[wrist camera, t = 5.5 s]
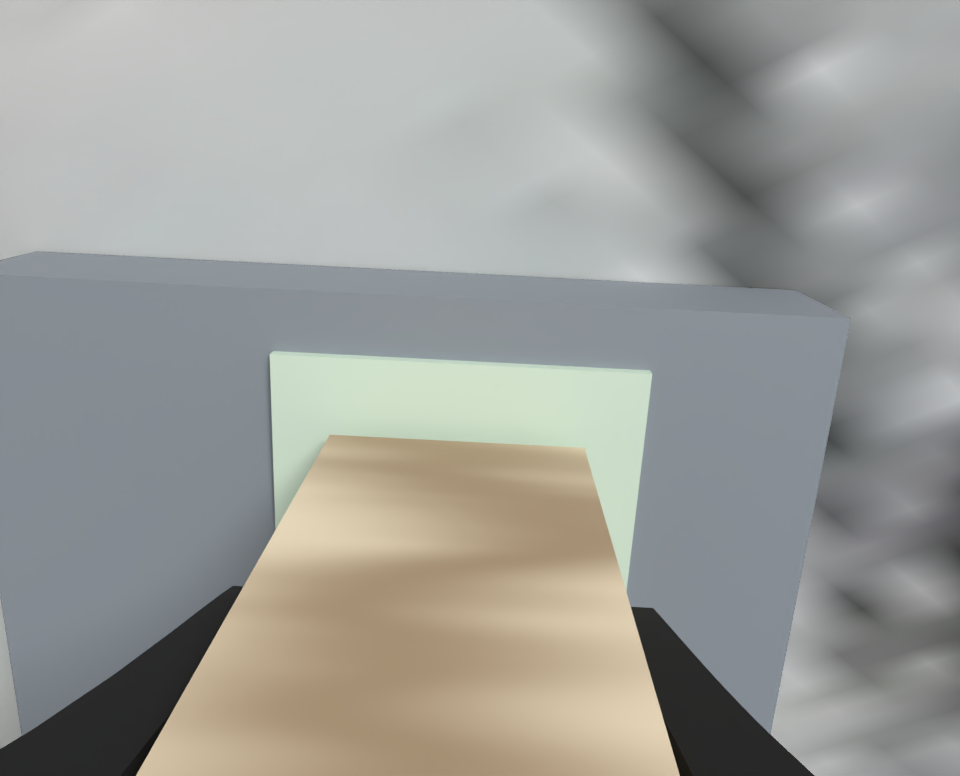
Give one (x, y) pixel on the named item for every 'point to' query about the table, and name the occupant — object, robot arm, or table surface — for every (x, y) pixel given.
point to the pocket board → (390, 436)
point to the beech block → (427, 628)
